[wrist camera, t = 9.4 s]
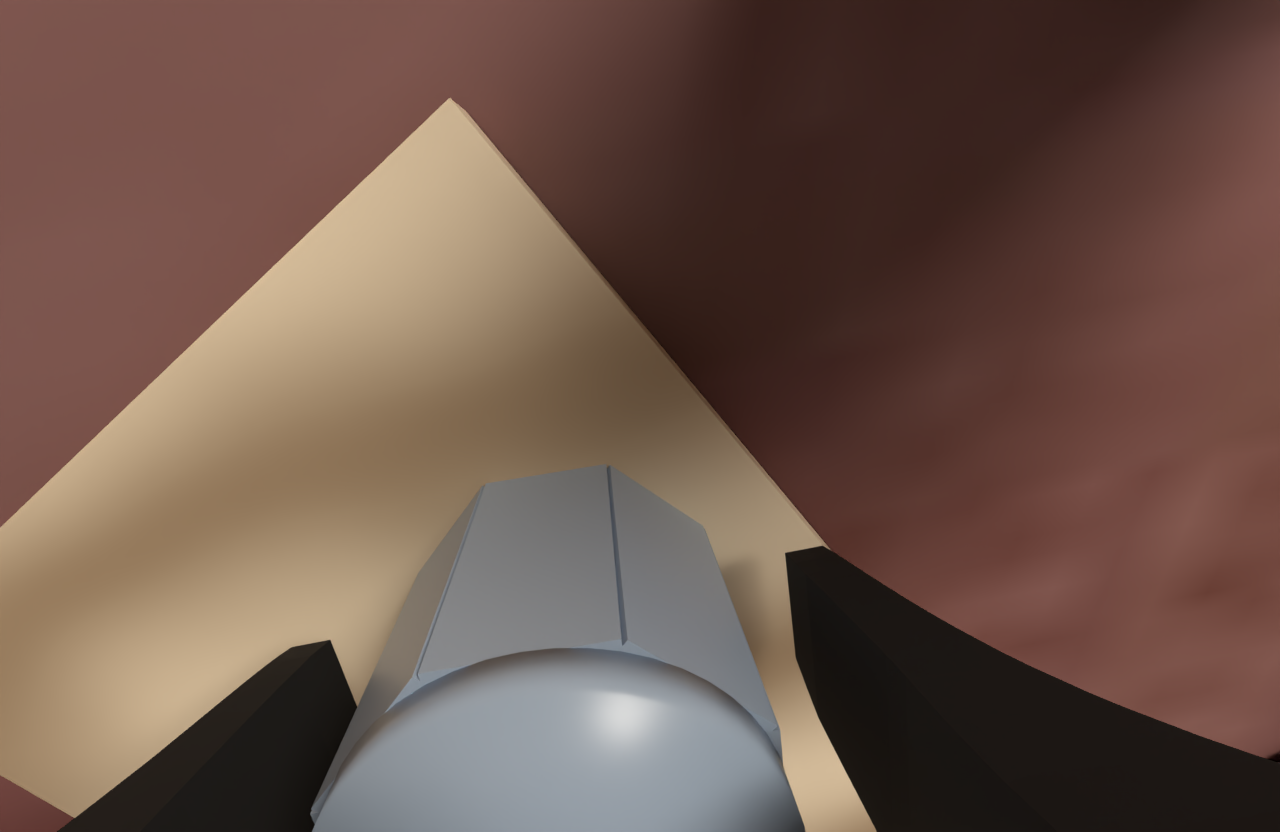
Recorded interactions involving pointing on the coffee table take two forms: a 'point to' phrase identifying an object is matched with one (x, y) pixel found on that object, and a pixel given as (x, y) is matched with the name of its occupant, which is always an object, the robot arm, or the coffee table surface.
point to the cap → (564, 679)
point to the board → (364, 474)
